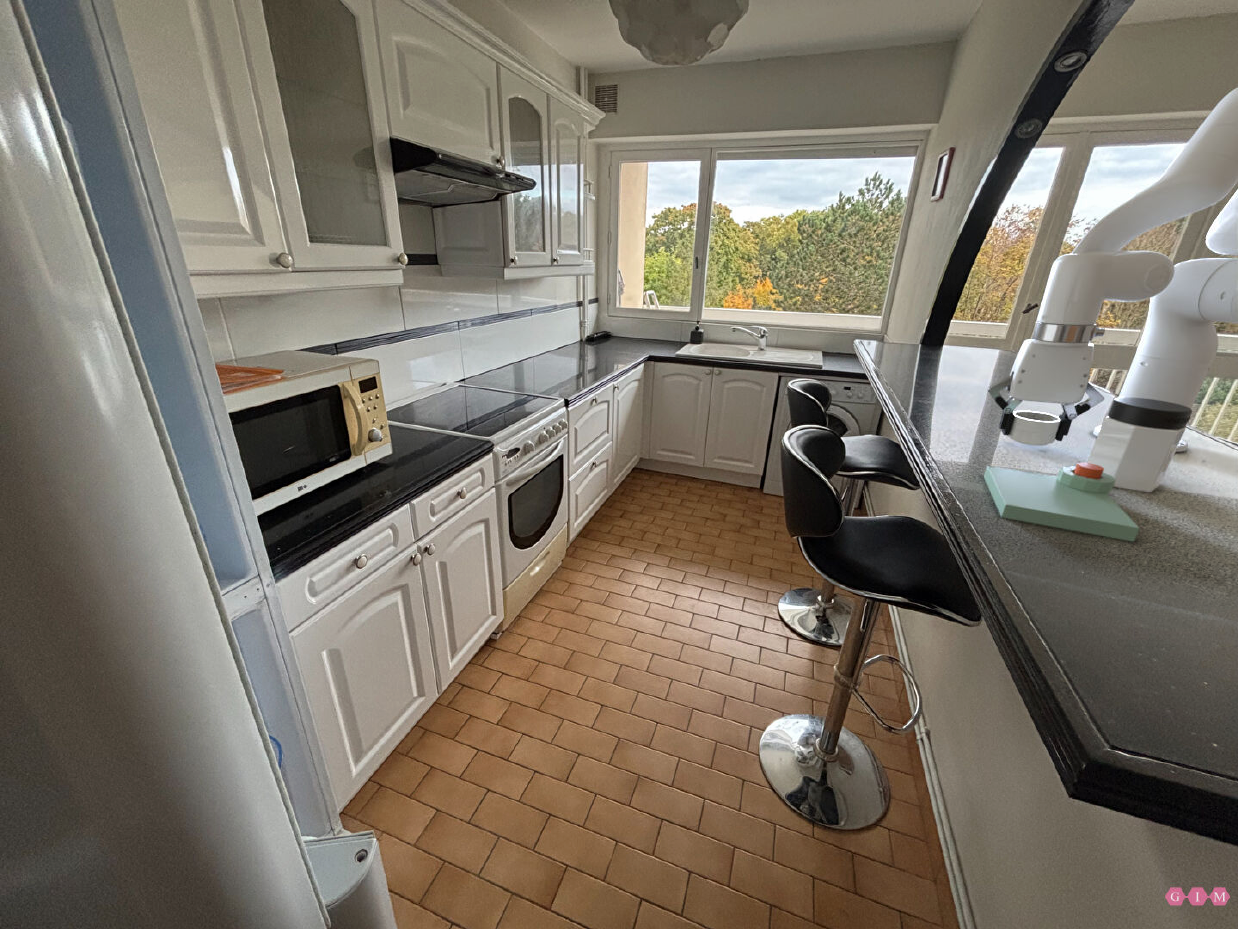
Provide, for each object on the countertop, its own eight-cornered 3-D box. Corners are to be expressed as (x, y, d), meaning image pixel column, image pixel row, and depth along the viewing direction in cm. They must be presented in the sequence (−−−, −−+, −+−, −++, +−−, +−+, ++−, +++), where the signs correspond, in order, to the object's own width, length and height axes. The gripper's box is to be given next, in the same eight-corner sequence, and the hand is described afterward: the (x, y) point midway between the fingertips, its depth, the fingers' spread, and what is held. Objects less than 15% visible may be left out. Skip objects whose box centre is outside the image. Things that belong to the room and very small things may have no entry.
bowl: (1002, 432, 95) (1009, 409, 93) (1047, 437, 92) (1055, 413, 90) (1009, 443, 89) (1016, 419, 88) (1057, 449, 86) (1066, 423, 85)
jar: (1147, 497, 71) (1184, 415, 67) (1075, 477, 78) (1105, 401, 73) (1165, 483, 76) (1201, 406, 71) (1096, 466, 82) (1124, 394, 78)
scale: (982, 475, 78) (989, 453, 77) (1097, 493, 72) (1106, 470, 71) (1001, 517, 65) (1009, 493, 64) (1143, 544, 59) (1155, 517, 58)
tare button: (1070, 471, 72) (1074, 460, 71) (1096, 474, 71) (1100, 464, 70) (1076, 478, 69) (1080, 467, 69) (1103, 482, 68) (1107, 471, 68)
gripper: (1121, 333, 83) (1085, 436, 90) (994, 329, 90) (970, 424, 97) (1140, 340, 77) (1100, 449, 84) (1001, 334, 84) (975, 435, 91)
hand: (1030, 435), depth 90 cm, fingers closed on bowl, 6 cm apart
